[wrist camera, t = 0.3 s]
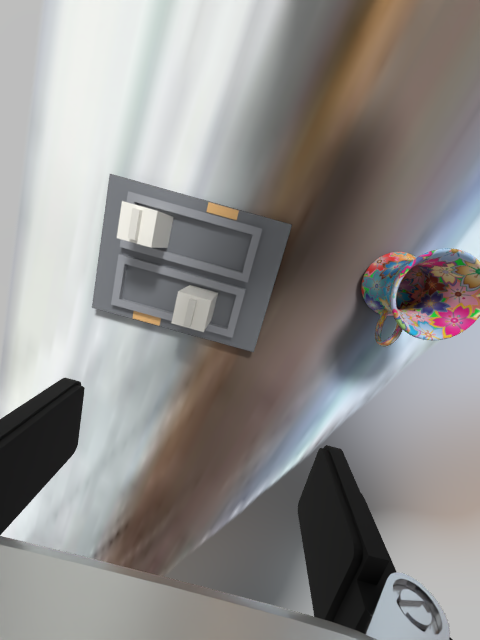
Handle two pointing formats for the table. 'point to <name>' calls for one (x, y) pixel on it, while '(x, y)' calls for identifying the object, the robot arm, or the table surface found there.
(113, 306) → the switch bank
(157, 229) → the tab
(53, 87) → the table surface
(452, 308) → the mug
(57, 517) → the table surface
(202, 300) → the tab
